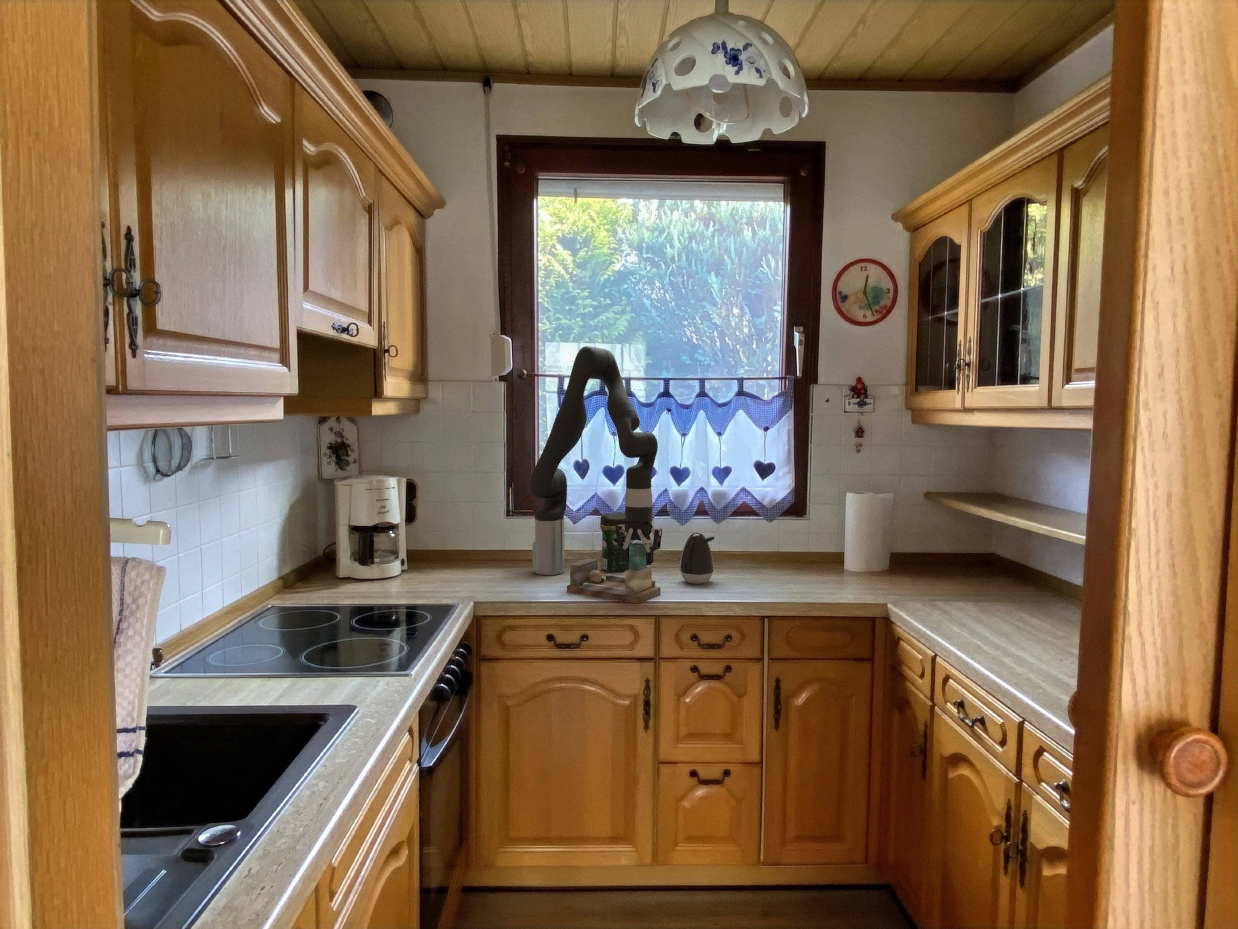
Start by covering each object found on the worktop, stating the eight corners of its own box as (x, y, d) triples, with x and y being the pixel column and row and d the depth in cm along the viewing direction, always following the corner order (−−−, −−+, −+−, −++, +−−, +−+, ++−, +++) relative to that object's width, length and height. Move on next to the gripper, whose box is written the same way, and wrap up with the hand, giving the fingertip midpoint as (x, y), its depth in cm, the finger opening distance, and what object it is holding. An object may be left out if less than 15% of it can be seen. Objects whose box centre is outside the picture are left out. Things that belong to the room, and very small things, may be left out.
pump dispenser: (710, 587, 227) (710, 536, 226) (676, 584, 230) (676, 534, 229) (717, 579, 237) (717, 530, 235) (684, 577, 240) (684, 528, 239)
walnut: (585, 584, 223) (585, 570, 222) (593, 581, 226) (593, 568, 226) (597, 586, 221) (597, 572, 220) (604, 583, 224) (604, 569, 224)
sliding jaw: (624, 592, 213) (624, 546, 212) (642, 584, 221) (642, 540, 220) (634, 594, 211) (634, 547, 210) (651, 586, 220) (651, 541, 219)
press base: (565, 592, 221) (565, 565, 220) (590, 583, 232) (590, 557, 232) (638, 604, 209) (638, 575, 208) (661, 593, 220) (661, 566, 219)
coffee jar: (624, 566, 256) (624, 510, 254) (633, 571, 249) (634, 513, 247) (597, 568, 252) (596, 512, 251) (606, 573, 245) (605, 515, 243)
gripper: (609, 503, 214) (609, 563, 216) (655, 507, 207) (654, 569, 209) (623, 500, 221) (623, 558, 222) (667, 504, 214) (667, 564, 215)
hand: (638, 563), depth 216 cm, fingers open, 6 cm apart
